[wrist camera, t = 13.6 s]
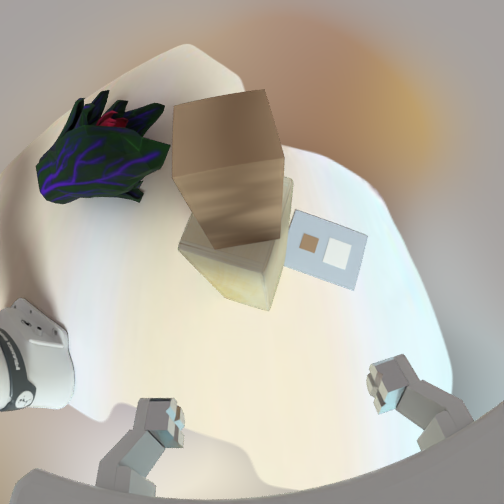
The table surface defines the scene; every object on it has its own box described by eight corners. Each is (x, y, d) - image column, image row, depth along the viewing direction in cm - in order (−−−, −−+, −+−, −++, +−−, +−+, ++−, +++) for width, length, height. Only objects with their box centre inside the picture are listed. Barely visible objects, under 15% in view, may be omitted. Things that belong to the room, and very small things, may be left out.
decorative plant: (112, 178, 57) (232, 133, 50) (62, 267, 40) (213, 230, 33) (66, 108, 42) (190, 37, 35) (-13, 183, 26) (123, 68, 18)
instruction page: (276, 263, 40) (276, 262, 40) (295, 210, 43) (296, 209, 43) (353, 290, 39) (354, 290, 39) (367, 236, 41) (367, 235, 41)
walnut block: (214, 249, 19) (172, 177, 11) (208, 193, 21) (173, 106, 12) (280, 238, 19) (284, 157, 10) (268, 183, 20) (264, 89, 12)
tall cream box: (237, 245, 42) (207, 158, 22) (285, 258, 40) (296, 178, 20) (219, 296, 39) (166, 248, 19) (269, 311, 38) (266, 279, 18)
